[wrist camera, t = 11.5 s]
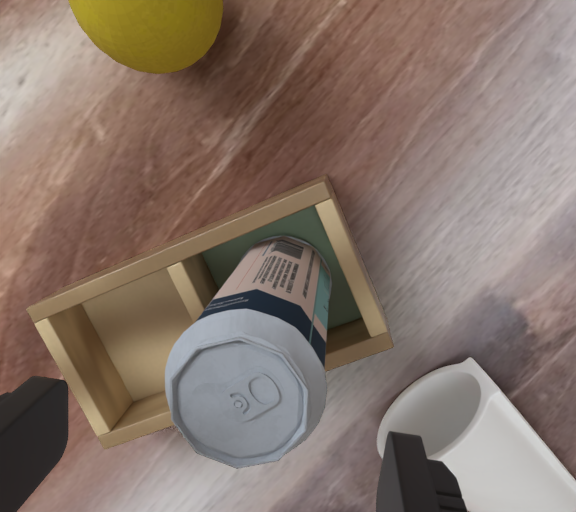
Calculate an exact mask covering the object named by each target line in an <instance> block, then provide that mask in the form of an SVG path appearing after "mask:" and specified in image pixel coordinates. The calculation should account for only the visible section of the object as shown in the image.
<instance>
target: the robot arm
mask: <svg viewBox="0 0 576 512" xmlns="http://www.w3.org/2000/svg"><path fill="white" fill-rule="evenodd" d="M67 440H68V385H67V383H66V381H64V380H60V379H53V378H47V377H40V376H33V377H31V378H29V379H28V380H27V381H26V382H24V383H23V384H22V385H21V386H19V387H18V388H17V389H16V390H14V391H13V392H12V393H8V392H7V393H5V394H3V395H0V512H17V510H18V509H19V508H20V507H21V506H22V504H23V503H24V502H25V501H26V500H27V499H28V497H29V496H30V495H31V494H32V493H33V491H34V490H35V489H36V488H37V487H38V485H39V484H40V483H41V482H42V481H43V480H44V478H45V477H46V476H47V475H48V474H49V472H50V471H51V470H52V469H53V468H54V466H55V465H56V464H57V463H58V462H59V460H60V459H61V457H62V455H63V453H64V451H65V448H66V445H67ZM376 512H467V508H466V505H465V502H464V499H462V493H461V490H460V487H459V484H458V481H457V478H456V477H455V476H454V474H453V473H452V472H451V471H450V470H449V469H448V467H447V466H446V465H445V464H444V463H443V462H442V461H437V460H431V459H427V456H426V452H425V449H424V445H423V441H422V438H421V436H419V435H412V434H406V433H399V432H393V431H389V432H388V435H387V439H386V444H385V450H384V455H383V460H382V466H381V471H380V477H379V482H378V489H377V499H376Z"/></svg>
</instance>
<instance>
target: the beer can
mask: <svg viewBox="0 0 576 512" xmlns="http://www.w3.org/2000/svg"><path fill="white" fill-rule="evenodd" d="M331 287H332V280H331V273H330V270H329V267H328V265H327V263H326V261H325V259H324V258H323V257H322V255H321V254H320V253H319V252H318V251H317V249H315V248H314V247H313V246H312V245H310V244H309V243H307V242H305V241H303V240H300V239H297V238H294V237H290V236H274V237H270V238H266V239H263V240H261V241H259V242H257V243H255V244H254V245H253V246H252V247H250V248H249V249H248V250H247V252H246V253H245V254H244V255H243V256H242V258H241V260H240V262H239V264H238V266H237V267H236V269H235V270H234V271H233V273H232V274H231V275H230V277H229V278H228V279H227V281H226V282H225V283H224V284H223V286H222V287H221V288H220V290H219V291H218V292H217V294H216V295H215V296H214V298H213V299H212V300H211V302H210V303H209V304H208V306H207V307H206V308H205V310H204V311H203V312H202V314H201V315H200V316H199V317H198V319H197V320H196V321H195V323H194V324H193V325H192V326H190V327H189V328H188V329H187V330H186V331H184V332H183V334H182V335H181V336H180V338H179V339H178V340H177V341H176V343H175V344H174V346H173V348H172V350H171V352H170V354H169V357H168V361H167V364H166V368H165V392H166V397H167V401H168V405H169V409H170V412H171V420H172V422H173V423H174V424H175V426H176V427H177V428H178V430H179V431H180V432H181V433H182V435H183V436H184V437H185V439H186V440H187V441H188V443H189V444H190V445H191V447H192V448H193V449H194V450H195V452H196V453H197V454H200V455H203V456H205V457H208V458H210V459H213V460H216V461H218V462H221V463H224V464H226V465H229V466H231V467H234V468H237V469H238V468H244V467H249V466H254V465H259V464H264V463H270V462H275V461H279V460H280V459H281V458H282V457H283V456H284V455H285V454H287V453H288V452H290V451H291V450H292V449H294V448H295V447H297V446H298V445H299V444H301V443H302V442H303V441H305V440H306V439H307V438H308V436H309V435H310V434H311V433H312V432H313V430H314V429H315V427H316V426H317V424H318V423H319V421H320V418H321V416H322V414H323V411H324V408H325V402H326V393H327V383H326V376H325V355H326V338H327V322H328V305H329V299H330V295H331Z"/></svg>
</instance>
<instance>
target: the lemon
mask: <svg viewBox="0 0 576 512" xmlns="http://www.w3.org/2000/svg"><path fill="white" fill-rule="evenodd" d="M69 3H70V6H71V9H72V11H73V13H74V15H75V17H76V19H77V21H78V23H79V25H80V26H81V28H82V29H83V30H84V32H85V33H86V34H87V35H88V37H89V38H90V39H91V40H92V42H93V43H94V44H95V45H96V46H97V47H98V48H99V49H101V50H102V51H103V52H104V53H106V54H107V55H108V56H110V57H111V58H112V59H113V60H115V61H116V62H118V63H121V64H123V65H125V66H128V67H130V68H132V69H134V70H137V71H142V72H148V73H155V74H162V73H170V72H176V71H179V70H182V69H184V68H186V67H189V66H191V65H193V64H194V63H195V62H196V61H198V60H199V59H200V58H201V57H203V56H204V55H205V54H206V52H207V51H208V50H209V48H210V47H211V46H212V44H213V43H214V41H215V39H216V36H217V34H218V32H219V29H220V26H221V20H222V14H223V0H69Z"/></svg>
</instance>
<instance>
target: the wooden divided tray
mask: <svg viewBox="0 0 576 512" xmlns="http://www.w3.org/2000/svg"><path fill="white" fill-rule="evenodd" d="M274 236H290V237H294V238H297V239H300V240H303V241H305V242H307V243H309V244H310V245H312V246H313V247H314V248H315V249H317V251H318V252H319V253H320V254H321V255H322V257H323V258H324V259H325V261H326V263H327V265H328V267H329V270H330V273H331V280H332V287H331V295H330V299H329V305H328V322H327V338H326V355H325V372H326V371H328V370H331V369H334V368H337V367H340V366H342V365H345V364H348V363H351V362H354V361H357V360H359V359H362V358H365V357H368V356H371V355H374V354H376V353H379V352H382V351H385V350H388V349H390V348H393V347H394V345H393V341H392V337H391V333H390V329H389V325H388V321H387V318H386V315H385V313H384V310H383V308H382V306H381V303H380V301H379V298H378V296H377V294H376V291H375V289H374V286H373V284H372V282H371V279H370V277H369V274H368V272H367V270H366V267H365V265H364V262H363V260H362V258H361V255H360V253H359V250H358V248H357V246H356V243H355V241H354V238H353V236H352V234H351V231H350V229H349V226H348V224H347V222H346V219H345V217H344V214H343V212H342V210H341V207H340V205H339V202H338V200H337V198H336V195H335V193H334V190H333V188H332V186H331V183H330V181H329V178H328V176H327V174H325V175H323V176H320V177H318V178H316V179H313V180H311V181H309V182H306V183H304V184H302V185H299V186H297V187H295V188H292V189H290V190H288V191H286V192H283V193H281V194H279V195H276V196H274V197H272V198H269V199H267V200H265V201H262V202H260V203H258V204H255V205H253V206H251V207H248V208H246V209H244V210H241V211H239V212H237V213H235V214H232V215H230V216H228V217H225V218H223V219H221V220H218V221H216V222H214V223H211V224H209V225H207V226H204V227H202V228H200V229H197V230H195V231H193V232H190V233H188V234H186V235H184V236H181V237H179V238H177V239H174V240H172V241H170V242H167V243H165V244H163V245H160V246H158V247H156V248H153V249H151V250H149V251H146V252H144V253H142V254H140V255H137V256H135V257H133V258H130V259H128V260H126V261H123V262H121V263H119V264H116V265H114V266H112V267H109V268H107V269H105V270H102V271H100V272H98V273H95V274H93V275H91V276H89V277H86V278H84V279H82V280H79V281H77V282H75V283H72V284H70V285H68V286H65V287H63V288H62V289H60V290H58V291H56V292H55V293H53V294H51V295H49V296H48V297H46V298H44V299H42V300H40V301H39V302H37V303H35V304H33V305H32V306H30V307H28V308H27V312H28V314H29V315H30V317H31V319H32V321H33V322H36V323H35V326H36V328H37V330H38V332H39V333H40V335H41V337H42V339H43V341H44V342H45V344H46V346H47V348H48V350H49V351H50V353H51V355H52V357H53V358H54V360H55V362H56V364H57V366H58V367H59V369H60V371H61V373H62V375H63V376H64V378H65V380H66V382H67V383H68V385H69V387H70V389H71V391H72V392H73V394H74V396H75V398H76V400H77V401H78V403H79V405H80V407H81V408H82V410H83V412H84V414H85V416H86V417H87V419H88V421H89V423H90V425H91V426H92V428H93V430H94V432H95V433H96V435H97V436H98V439H99V441H100V442H101V444H102V446H103V448H104V449H108V448H111V447H114V446H117V445H119V444H122V443H125V442H128V441H131V440H134V439H136V438H139V437H142V436H145V435H148V434H151V433H153V432H156V431H159V430H162V429H165V428H167V427H170V426H173V425H175V424H174V423H173V422H172V420H171V412H170V409H169V405H168V401H167V397H166V392H165V368H166V364H167V361H168V357H169V354H170V352H171V350H172V348H173V346H174V344H175V343H176V341H177V340H178V339H179V338H180V336H181V335H182V334H183V332H184V331H186V330H187V329H188V328H189V327H190V326H192V325H193V324H194V323H195V321H196V320H197V319H198V317H199V316H200V315H201V314H202V312H203V311H204V310H205V308H206V307H207V306H208V304H209V303H210V302H211V300H212V299H213V298H214V296H215V295H216V294H217V292H218V291H219V290H220V288H221V287H222V286H223V284H224V283H225V282H226V281H227V279H228V278H229V277H230V275H231V274H232V273H233V271H234V270H235V269H236V267H237V266H238V264H239V262H240V260H241V258H242V256H243V255H244V254H245V253H246V252H247V250H248V249H249V248H250V247H252V246H253V245H254V244H255V243H257V242H259V241H261V240H263V239H266V238H270V237H274Z"/></svg>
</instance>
